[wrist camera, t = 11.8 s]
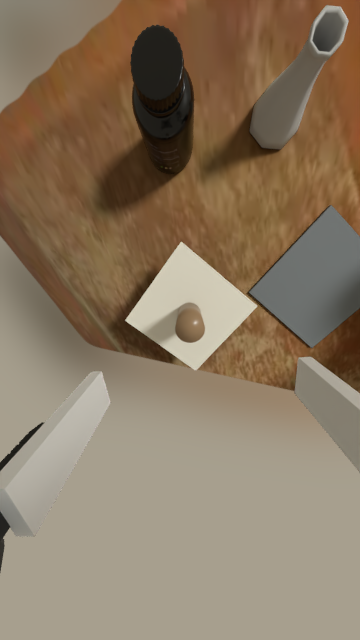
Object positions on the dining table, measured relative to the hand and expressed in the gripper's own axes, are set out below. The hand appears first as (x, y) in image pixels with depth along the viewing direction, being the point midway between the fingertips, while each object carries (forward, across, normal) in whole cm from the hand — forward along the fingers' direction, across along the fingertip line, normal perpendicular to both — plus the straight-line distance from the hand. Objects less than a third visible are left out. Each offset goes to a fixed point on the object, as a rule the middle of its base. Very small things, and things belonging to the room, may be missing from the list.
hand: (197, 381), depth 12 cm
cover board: (+17, 0, 0) cm, 17 cm away
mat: (+23, -24, -1) cm, 33 cm away
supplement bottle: (+23, +1, -25) cm, 34 cm away
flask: (+24, -14, -26) cm, 38 cm away
